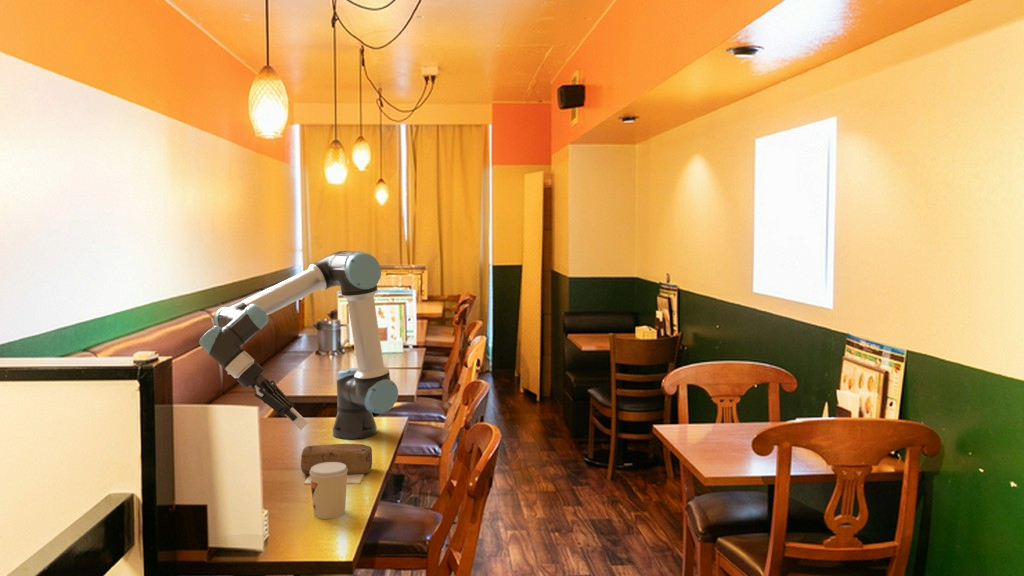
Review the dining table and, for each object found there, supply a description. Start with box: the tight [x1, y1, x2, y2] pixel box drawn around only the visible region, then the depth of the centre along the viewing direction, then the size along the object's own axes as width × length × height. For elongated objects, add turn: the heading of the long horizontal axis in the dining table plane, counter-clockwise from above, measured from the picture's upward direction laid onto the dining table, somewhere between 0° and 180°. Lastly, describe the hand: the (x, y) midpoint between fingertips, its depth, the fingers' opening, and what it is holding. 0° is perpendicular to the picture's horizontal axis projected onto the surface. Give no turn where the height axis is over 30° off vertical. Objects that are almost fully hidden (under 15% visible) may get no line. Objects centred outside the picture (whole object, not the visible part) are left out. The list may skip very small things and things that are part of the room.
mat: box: [303, 473, 366, 485], centre depth 225 cm, size 20×16×1 cm
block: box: [300, 443, 373, 475], centre depth 226 cm, size 11×8×20 cm
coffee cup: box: [309, 462, 348, 520], centre depth 193 cm, size 9×9×12 cm
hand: (304, 426), depth 223 cm, fingers closed
